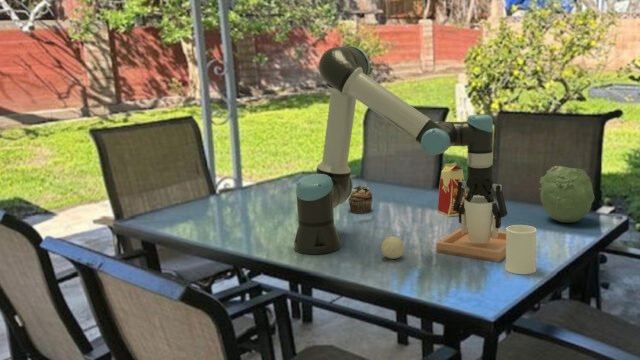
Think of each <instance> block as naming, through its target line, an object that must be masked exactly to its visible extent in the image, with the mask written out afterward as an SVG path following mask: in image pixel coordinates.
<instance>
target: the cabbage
mask: <svg viewBox="0 0 640 360" xmlns="http://www.w3.org/2000/svg"><path fill="white" fill-rule="evenodd" d="M539 179H540V180H539V183H538V184H540V187H539V188H538V190H539V191H540V195H539V196H540V201H541V204H542V207H543V208H544V211H545V212H546V213H547V215H549V217H550V218H552V219H553V220H555V221H557V222H559V223H564V224H565V223H567V224H568V223H569V224H571V223H576V222H578V221H580V220H581V219H583V218H584V217H585V216H586V215H587V214H588V213H589V212H590V211H591V208H592V203H594V201H595V194H594V190H593V184H592V180H591V177H590V176H588V174H587V171H586V170H584V169H582V168H577V167H575V168H573V167H572V168H571V167H569V166H568V167H567V166H563V165H560V166H559V165H553V166H551V168H550V169H548V170H547V171H545V175H544V176H541V177H540V178H539Z"/></svg>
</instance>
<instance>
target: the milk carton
mask: <svg viewBox="0 0 640 360" xmlns="http://www.w3.org/2000/svg"><path fill="white" fill-rule="evenodd" d="M457 163H458V162H453V163H444V164H443V165H444V167H443V169H442V170H441V173H440V180H439V186H438V188H439V189H438V195H437V197H438V199H437V213H438V214H442V215H443V216H446V217H447V218H450V217H457V216H458V217H459V213H458V212H456V211H453V207H454V203H455V199H456V195H457V191H458V182H460V181H462V180H463V181H465V177H464V171H463V168H462V167H459V166H458V165H457ZM466 189H467V187H465V189H464V193H463V197H462V201H461V205H460V207H461V206H462V204H463V202H464V200H465V198H466V197H467V190H466ZM464 213H465V212H464Z"/></svg>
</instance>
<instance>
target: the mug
mask: <svg viewBox="0 0 640 360" xmlns="http://www.w3.org/2000/svg"><path fill="white" fill-rule="evenodd" d="M505 229H506V230H505V232H506V257H505V265H504V270H505V271H506V272H508V273H510V274H514V275H531V274H534V273H536V272H537V264H536V263H537V259H536V258H537V228H536V227H534V226H532V225H527V224H513V225H509V226H507V227H506V228H505Z"/></svg>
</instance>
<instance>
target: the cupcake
mask: <svg viewBox="0 0 640 360" xmlns="http://www.w3.org/2000/svg"><path fill="white" fill-rule="evenodd" d="M373 200H374V199H373V194H372V193H371V191H370V187H369V186H361V185H358V186H356V187H353V189H352V193H351V194H350V196H349V197H348V199H347V201H348V205H349V207H350V208H349V209H350V212H351V213H353V214H367V213H370V212H371V211H372V205H373Z"/></svg>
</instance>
